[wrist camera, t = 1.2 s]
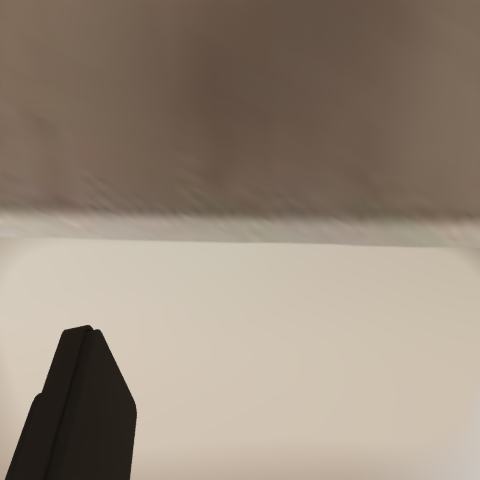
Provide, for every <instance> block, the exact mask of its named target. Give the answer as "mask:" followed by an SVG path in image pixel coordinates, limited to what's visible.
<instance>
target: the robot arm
mask: <svg viewBox="0 0 480 480" xmlns="http://www.w3.org/2000/svg"><path fill="white" fill-rule="evenodd" d="M136 419H137V411H136V405H135V401H134V399H133V397H132V395H131V393H130V391H129V389H128V387H127V384H126V382H125V380H124V378H123V376H122V374H121V372H120V370H119V368H118V366H117V364H116V361H115V359H114V357H113V355H112V353H111V351H110V349H109V347H108V345H107V343H106V341H105V338H104V336H103V334H102V332H101V331H100V330H98V329H96V330H93V328H92V327H91V326H90V325H85V326H81V327H77V328H71V329H67V330H64V331H63V333H62V335H61V338H60V340H59V343H58V346H57V349H56V352H55V355H54V358H53V361H52V364H51V367H50V370H49V372H48V375H47V378H46V381H45V384H44V387H43V390H42V393H39V394H38V395H37V396H36V397H35V398H34V401H33V402H32V405H31V407H30V410H29V413H28V416H27V419H26V422H25V425H24V427H23V430H22V433H21V436H20V439H19V441H18V444H17V447H16V450H15V452H14V455H13V458H12V461H11V464H10V467H9V469H8V472H7V475H6V478H5V480H130V473H131V464H132V455H133V445H134V437H135V428H136Z"/></svg>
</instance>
